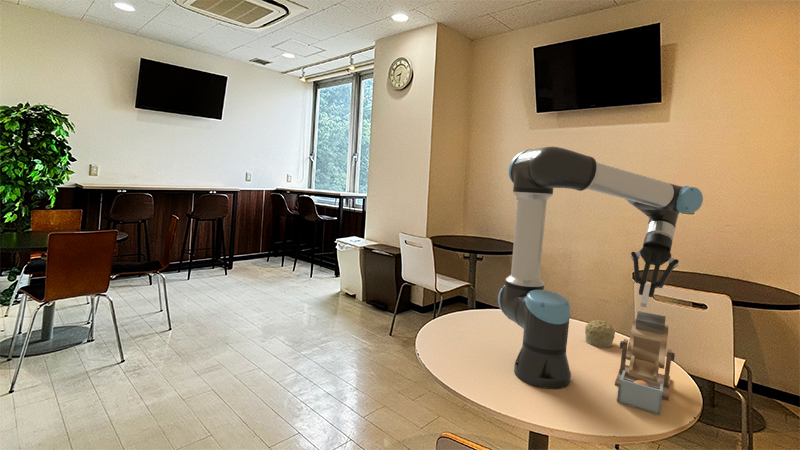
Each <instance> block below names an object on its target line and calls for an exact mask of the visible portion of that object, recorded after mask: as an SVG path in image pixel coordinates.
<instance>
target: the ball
mask: <svg viewBox="0 0 800 450" xmlns="http://www.w3.org/2000/svg"><path fill="white" fill-rule="evenodd" d="M634 383H637V384H641V385H645V386H648V387H649V385H648V384H647V383H646V382H644V381H642V380H637V381H635V382H634Z"/></svg>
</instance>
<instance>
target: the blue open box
mask: <svg viewBox="0 0 800 450" xmlns="http://www.w3.org/2000/svg"><path fill="white" fill-rule="evenodd" d="M625 372H626V371H624V370H623V372H622V375H621V378H620V379H619V386H617V387H618V388H617V398H616V402H617V403H618V404H622V405H625V406H628V407H632V408H635V409H638V410H642V411H645V412H648V413H652V414H655V415H658V416H660V415H661V410H662V403H663V402H662V401H663V399H662V394H663V381H662V380H661V382H660V388H659V387H656V386H652V385H649V384H648V385H649V387H648V386H645V385H641V384H637V383H634V382H635V381H634V380H630V379H627V378H625Z"/></svg>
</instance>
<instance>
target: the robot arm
mask: <svg viewBox="0 0 800 450" xmlns="http://www.w3.org/2000/svg"><path fill="white" fill-rule="evenodd" d="M508 176H509V179H510V181H511V182H512V183H513V187H512V193H513V195H514V197H516V198H517V200H516V201H517V202H516V211H515V223H514V224H515V226H514V234H513V235H514V237H513V247H512V258H511V271H510V272H511V273H510V275H508V276H507V277H505V283H504V285H503V287H501V288H500V289H499V292H498V296H497V304H498V307H499V309H500V310H501V312H502V313H503V314H504V315H505V316H506V317H507V318H508V319H509V320H511V321H512V322H514V323H515V324H517V326H519V327H521V328H522V329H523V334H522V335H523V336H522V346H521V348H520V350H519V353H518V355H517V357H516V359H515V362H514V367H513V372H514V374H515V376H516V377H517V378H518V379H519V380H521V381H523V382H524V383H527V384H529V385H532V386H535V387H538V388H543V389H551V390H552V389H564V388H566V387H569V385H570V384H571V381H572V380H571V378H572V372H571V370H570V364H569V360H568V356H567V347H568V337H569V336H568V335H569V327H570V318H571V305H570V302H569V300H568V299H567V298H566V297H564V296H563V295H561V294H559V293H557V292H552V291H550V290H546V289H545V282H544V281H543V280H542V278H541V277H540V276H541V266H542V256H543V246H544V236H545V235H544V233H545V224H546V212H547V203H548V200H549V199H550V198H551V197H552V196H553V195H554V189H569V190H575V191H579V192H583V191H585V190H590V191H594V192H597V193H601V194H605V195H609V196H613V197H617V198H619V199H620V198H621V199H624V200H626V201H627V202H628V203H629V204H630V205H632V206H633V207H635V208H636V209H637V210H639V211H640V212H641V213H643V214H644V215H645V216H646V217H648V219H649V220H648V223H647V227H646V232H645V236H644V238H643V239H644V240H643V244H642V247H640V249H639V251H631V252H630V257H631V260H632V261H633V273H634V283H636V284H639V288H638V294H639V295H640V296H641V299H640V307H642V308H647V305H648V302H649V298H654V295H655V290H656V289H662V288H663V287H664V286H665V284H666V282H667V280H668V279H669V277H670V275H671V273H672V271H673V270H674V269H675V268H677V267H678V266H679V262H680V260H679V259H677V258H673V257H672V253H671V250H672V247H673V241H674V237H675V232H676V226H677V221H678V218H679V215H680V214H693V213H695V212H697V211H699V210H700V208H701V207H702V206H703V202H704V196H703V193H702V191H701V190H700V189H699V188H697V187H694V186H689V185H684V186H682V185H677V184H674V183H669V182H667V181H662V180H659V179H655V178H653V177H649V176H646V175H642V174H639V173H635V172H631V171H628V170H624V169H620V168H617V167H614V166H610V165H607V164H603V163H599V162H598V161H597V159H595V157H593V156H589V155H586V154H583V153H580V152H576V151H574V150H570V149H567V148H564V147H559V146H546V147H537V148H529V149H525V150H523V151H521V152H519V153H517V154H516V155H515V156H514V157H513V158H512V159H511V161H510V163H509V167H508ZM640 257H641V258H642V260H643V261H644V262H645V264H644V267H643V273H642V277H640V268H639V267H640V266H639V264H640V263H639V259H640ZM667 262H668V265H667V267H666V268H665V270H664V272H663V274H662V276H661V277H660V279H659V281H658V277H659V273H660V268H661V266H662V265H664V264H665V263H667ZM651 265H653V266H654V267H653V271H652V278H651V282H650V283H647V280H648V276H649V272H650V268H651Z"/></svg>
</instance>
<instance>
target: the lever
mask: <svg viewBox="0 0 800 450" xmlns="http://www.w3.org/2000/svg"><path fill="white" fill-rule="evenodd" d="M636 314H637V315H636V318H633V321H632V324H631V325H632V326H631V331H630V334H629V339H628V345H627V354H626V361H629V365H628V366H629V370H628V375H630V376H634V377H638V378H641V379H645V380H649V381H652V382H656V383H657V379H658V373H659V369H663V370H665V367H666V357H667V346H668V336H669V327H670V326H669V324H666V315H661V314H654V313H649V312H644V311H639V310H638V311H637V313H636Z"/></svg>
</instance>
